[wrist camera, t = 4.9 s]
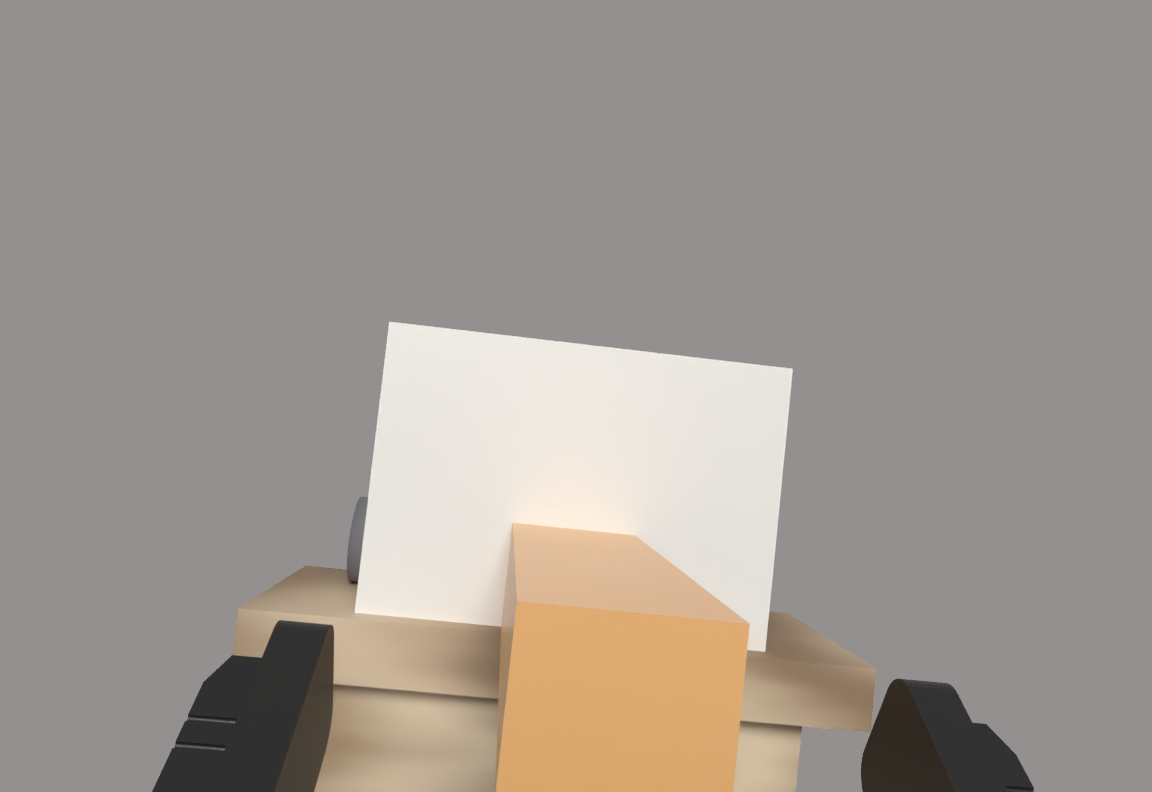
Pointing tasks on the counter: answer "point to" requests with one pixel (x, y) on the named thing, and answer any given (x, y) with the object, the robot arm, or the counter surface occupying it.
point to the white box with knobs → (582, 543)
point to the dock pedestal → (471, 687)
